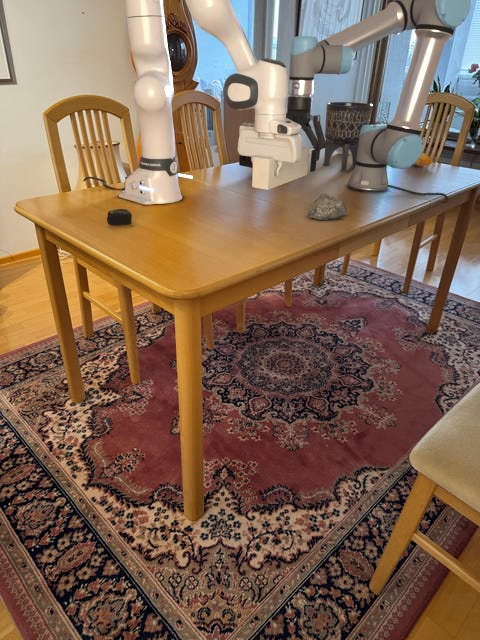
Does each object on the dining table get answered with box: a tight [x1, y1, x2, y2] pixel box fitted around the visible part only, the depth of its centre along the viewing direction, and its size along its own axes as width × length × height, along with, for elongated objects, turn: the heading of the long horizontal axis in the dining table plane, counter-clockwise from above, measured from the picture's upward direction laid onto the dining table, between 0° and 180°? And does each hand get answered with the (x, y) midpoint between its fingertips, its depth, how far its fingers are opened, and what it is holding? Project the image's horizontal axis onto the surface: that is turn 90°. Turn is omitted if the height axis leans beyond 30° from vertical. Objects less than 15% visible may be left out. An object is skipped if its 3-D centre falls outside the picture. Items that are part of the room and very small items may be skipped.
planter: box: [323, 101, 374, 172], centre depth 204 cm, size 20×20×26 cm
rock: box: [307, 192, 348, 221], centre depth 142 cm, size 13×9×6 cm, turn 131°
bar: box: [251, 146, 311, 191], centre depth 142 cm, size 25×6×9 cm, turn 146°
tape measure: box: [106, 208, 133, 227], centre depth 132 cm, size 7×7×4 cm
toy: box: [414, 152, 434, 168], centre depth 216 cm, size 11×6×15 cm
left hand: (267, 174), depth 136 cm, fingers closed on bar, 5 cm apart
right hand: (294, 168), depth 149 cm, fingers open, 12 cm apart
